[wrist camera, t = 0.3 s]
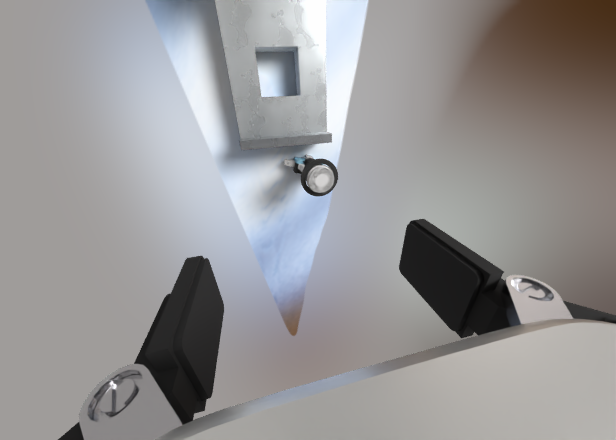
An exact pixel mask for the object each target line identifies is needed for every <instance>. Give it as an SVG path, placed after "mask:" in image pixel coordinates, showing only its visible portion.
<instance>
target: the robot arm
mask: <svg viewBox="0 0 616 440" xmlns="http://www.w3.org/2000/svg"><path fill="white" fill-rule="evenodd" d="M399 270H400V272H401V274H402V275H403V276H404V277H405V278H406V279H407V281H408V282H409V283H410V284H411V285H412V286H413V287H414V288H415V290H416V291H417V292H418V293H419V294H420V295H421V296H422V298H423V299H424V300H425V301H426V302H427V303H428V304H429V305H430V307H431V308H432V309H433V310H434V311H435V312H436V313H437V314H438V315H439V317H440V318H441V319H442V320H443V321H444V322H445V323H446V325H447V326H448V327H449V328H450V329H451V330H453V331H455V332H456V333H457V334H458V335H459V336H460V337H461V338H464V337H467V336H471V335H473V333H474V332H475V333H476V334H477V335H478V336H475V337H471V338H467V339H464V340H461V341H456V342H453V343H450V344H446V345H442V346H438V347H435V348H431V349H428V350H424V351H421V352H417V353H413V354H410V355H406V356H403V357H399V358H396V359H392V360H389V361H385V362H382V363H378V364H375V365H371V366H368V367H364V368H361V369H357V370H353V371H350V372H347V373H343V374H340V375H336V376H333V377H329V378H326V379H323V380H319V381H315V382H312V383H309V384H305V385H302V386H298V387H295V388H291V389H288V390H284V391H281V392H277V393H274V394H271V395H268V396H265V397H261V398H258V399H255V400H252V401H248V402H245V403H242V404H239V405H235V406H232V407H229V408H226V409H223V410H220V411H217V412H214V413H212V414H209V415H206V416H203V417H201V418H198V419H195V420H193V417H194V413H198V412H201V411H204V410H205V405H206V399H208V398H211V396H212V392H213V384H214V378H215V371H216V362H217V356H218V349H219V342H220V334H221V328H222V321H223V313H224V304H223V300H222V298H221V295H220V292H219V289H218V286H217V283H216V280H215V277H214V274H213V271H212V268H211V265H210V262H209V260H208V259H207V258H206V259H204V258H203V256H197V257H191V258H187V259H186V260H185V263H184V265H183V267H182V269H181V272H180V274H179V277H178V279H177V281H176V283H175V286H174V288H173V290H172V292H171V294H168V295H167V296H166V297H165V298H164V300H163V302H162V304H161V307H160V309H159V311H158V313H157V315H156V317H155V320H154V322H153V324H152V326H151V328H150V331H149V333H148V335H147V337H146V339H145V341H144V343H143V346H142V348H141V350H140V352H139V354H138V356H137V359H136V361H135V363H134V364H132V365H127V366H125V367H122V368H120V369H118V370H116V371H115V372H113V373H111V374H110V375H108V376H107V377H106V378H105V379H104V380H102V381H101V382H100V383H99V384H98V385H97V386H96V387H95V388H94V389H93V390H92V392H91V393H90V394H89V395H88V397H87V399H86V400H85V402H84V403H83V406H82V408H81V411H80V414H79V422H78V423H77V424H76V425H75V426H74V427H72V428H71V429H70V430H69V431H68V432H67V433H65V435H63V436H62V437H61V438H59V439H58V440H616V316H615V315H612V314H608V313H604V312H601V311H598V310H594V309H590V308H587V307H583V306H579V305H576V304H573V303H569V302H566V301H562V299H561V297H560V296H559V294H558V293H557V292H556V291H555V290H554V289H552V288H551V287H550V286H548V285H547V284H545V283H543V282H542V281H539V280H537V279H534V278H531V277H528V276H523V275H511V276H508V277H507V278H506V280H505V281H504V280H503V279H501V276H502V274H503V271H502V270H501V269H499V268H498V267H496V266H494V265H493V264H492V263H490V262H489V261H487V260H486V259H484V258H482V257H481V256H479V255H478V254H476V253H475V252H473V251H472V250H470V249H469V248H467V247H466V246H464V245H463V244H461V243H460V242H458V241H457V240H455V239H454V238H452V237H450V236H449V235H448V234H446V233H445V232H443V231H442V230H440V229H438V228H437V227H436V226H434V225H433V224H431V223H429V222H428V221H426V220H425V219H419V220H413V221H411V222H410V223H409V224H408V225H407V228H406V233H405V239H404V244H403V249H402V255H401V260H400V265H399Z"/></svg>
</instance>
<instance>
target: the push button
mask: <svg viewBox="0 0 616 440" xmlns="http://www.w3.org/2000/svg"><path fill="white" fill-rule="evenodd" d="M305 156H306V159H304V158H297V157H294V160H292V159H291V160H286V159H285V160H284V164H285V165H286V166H291V167H293V168H294V172H295V173H300V174H301V183H302V186H303V188H304V190H305V191H306V192H307V193H309V194H310V195H313V196H323V195H326V194H328V193H329V192H331V191H332V190H333V188H334V187H335V185H336V183H337V180H338V172H337V169H336V167H335V166H334V165H333V164H332V163H331V162H330V161H328V160H326V159H316V160H315V159H313V157H312V156H309V155H305ZM287 162H288V163H287ZM323 164H326V165H328V167H327V166H325V165H323ZM305 179H306V180H305ZM306 181H307V185H308V186H309V187H308V186H307V185H306Z"/></svg>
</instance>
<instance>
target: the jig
mask: <svg viewBox="0 0 616 440" xmlns="http://www.w3.org/2000/svg"><path fill="white" fill-rule="evenodd" d="M215 4H216V10H217V15H218V21H219V26H220V31H221V37H222V42H223V48H224V53H225V58H226V64H227V69H228V74H229V80H230V85H231V91H232V96H233V101H234V107H235V112H236V117H237V123H238V128H239V134H240V146H241V150H250V149H261V148H272V147H284V146H295V145H306V144H317V143H329V142H332V134H331V133H329V132H327V123H326V0H215ZM289 51H294V56H295V72H296V88H297V96H280V97H261V91H260V83H259V76H258V68H257V60H256V53H255V52H289Z"/></svg>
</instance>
